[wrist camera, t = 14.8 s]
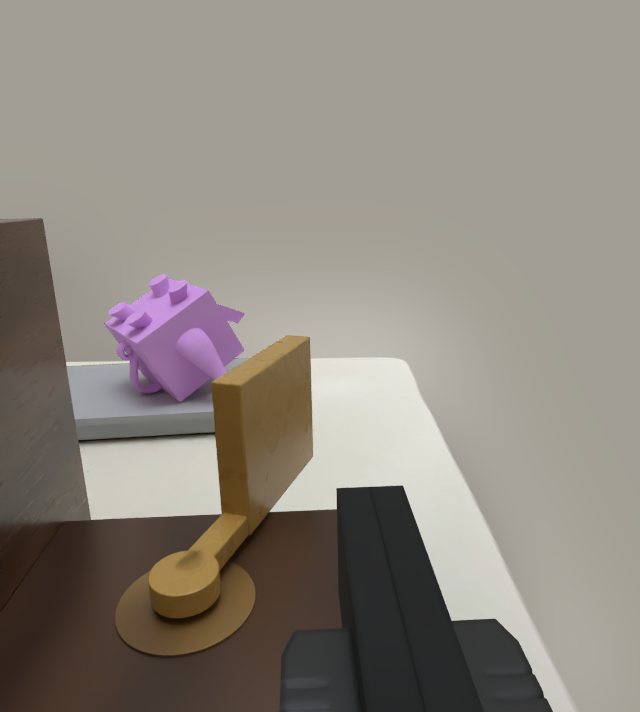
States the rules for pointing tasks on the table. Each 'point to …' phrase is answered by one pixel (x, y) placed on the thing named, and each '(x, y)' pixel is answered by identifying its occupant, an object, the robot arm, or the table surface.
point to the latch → (244, 468)
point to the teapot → (175, 337)
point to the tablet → (135, 404)
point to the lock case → (124, 554)
